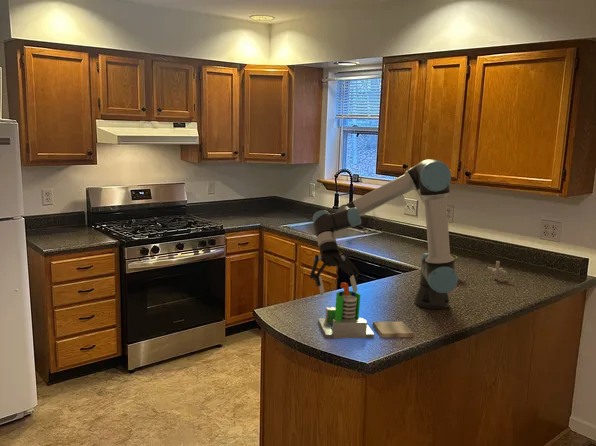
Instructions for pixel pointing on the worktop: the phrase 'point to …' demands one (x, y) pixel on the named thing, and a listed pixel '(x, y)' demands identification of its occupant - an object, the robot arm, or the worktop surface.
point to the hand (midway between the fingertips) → (339, 292)
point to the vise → (344, 327)
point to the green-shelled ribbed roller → (347, 304)
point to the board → (392, 329)
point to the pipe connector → (497, 270)
